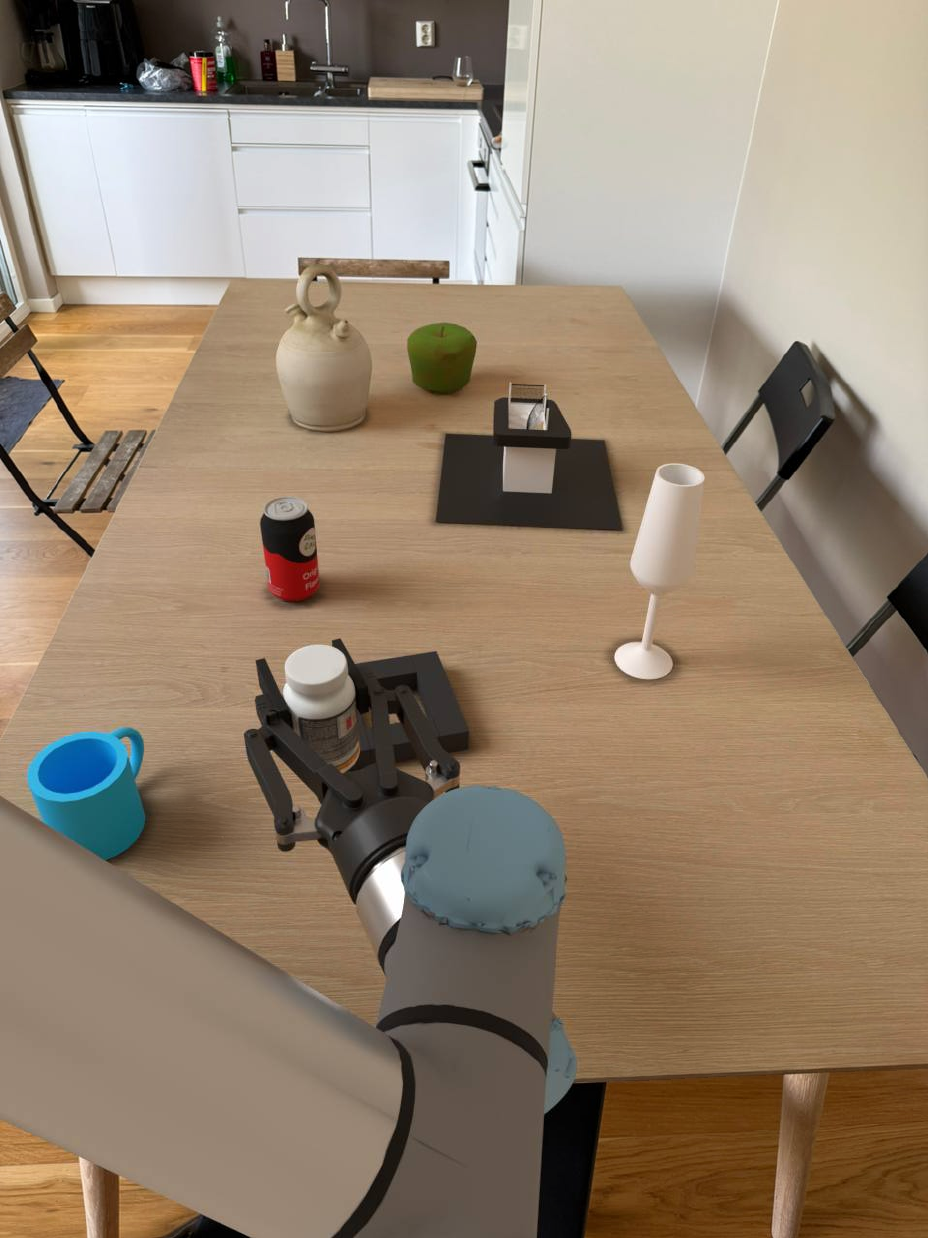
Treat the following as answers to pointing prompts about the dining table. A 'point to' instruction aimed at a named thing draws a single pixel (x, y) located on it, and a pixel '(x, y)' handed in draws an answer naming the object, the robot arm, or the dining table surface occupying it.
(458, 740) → the dock pad
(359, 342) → the jug
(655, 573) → the champagne flute
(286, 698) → the pill bottle
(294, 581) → the beverage can
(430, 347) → the apple
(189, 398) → the dining table surface
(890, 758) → the dining table surface
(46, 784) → the mug
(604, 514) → the black-topped pedestal
